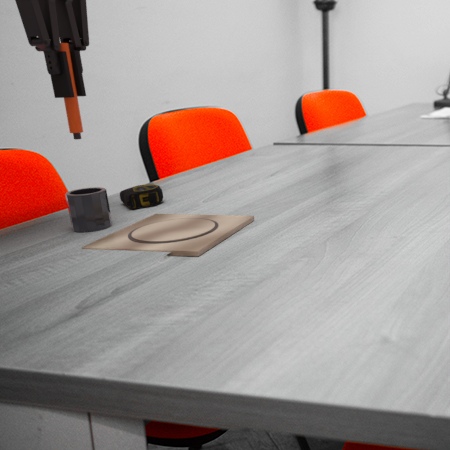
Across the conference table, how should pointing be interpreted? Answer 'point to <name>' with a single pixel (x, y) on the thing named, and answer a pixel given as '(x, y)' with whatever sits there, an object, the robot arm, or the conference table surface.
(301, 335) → the conference table surface
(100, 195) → the pen pot
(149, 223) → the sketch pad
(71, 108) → the marker pen
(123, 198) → the tape measure
